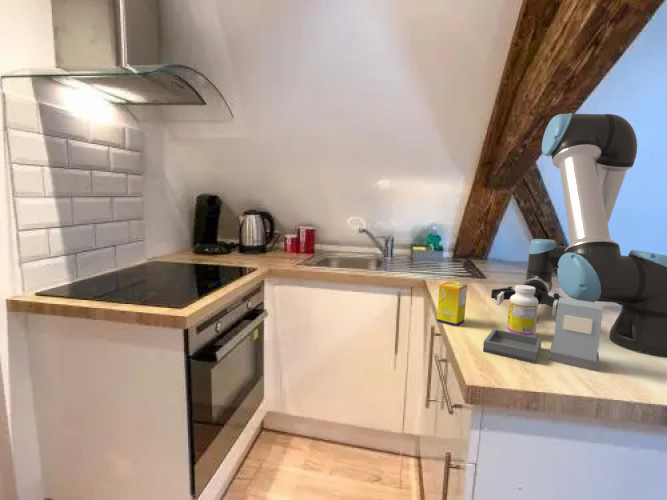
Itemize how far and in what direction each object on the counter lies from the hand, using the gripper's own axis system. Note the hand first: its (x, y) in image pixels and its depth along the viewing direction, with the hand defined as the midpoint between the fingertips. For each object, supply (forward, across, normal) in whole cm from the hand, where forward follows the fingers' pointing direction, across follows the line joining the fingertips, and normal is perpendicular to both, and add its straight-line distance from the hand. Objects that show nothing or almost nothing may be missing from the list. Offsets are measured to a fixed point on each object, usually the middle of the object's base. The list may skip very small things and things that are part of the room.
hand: (525, 305), depth 104 cm
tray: (+18, 0, +7) cm, 19 cm away
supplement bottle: (+4, 0, +7) cm, 8 cm away
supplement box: (+6, -18, +7) cm, 20 cm away
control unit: (+16, +12, +7) cm, 21 cm away
